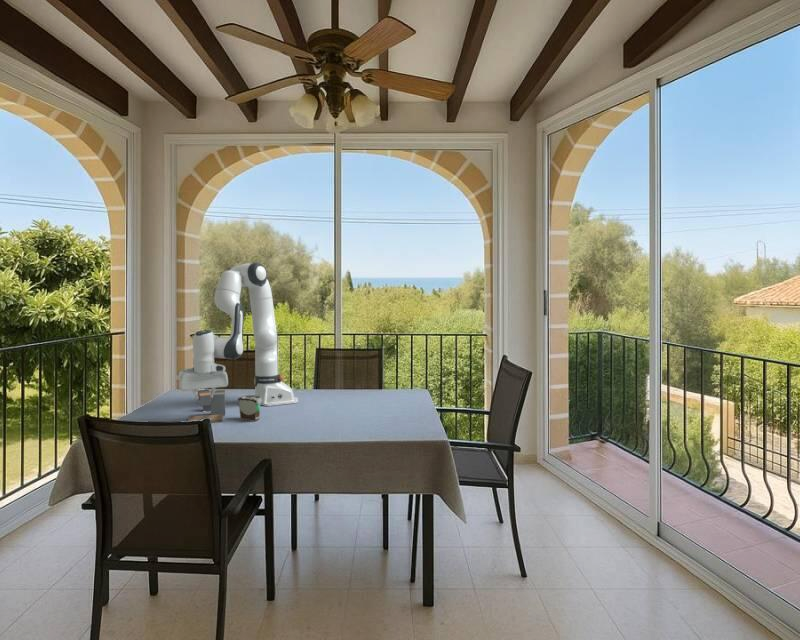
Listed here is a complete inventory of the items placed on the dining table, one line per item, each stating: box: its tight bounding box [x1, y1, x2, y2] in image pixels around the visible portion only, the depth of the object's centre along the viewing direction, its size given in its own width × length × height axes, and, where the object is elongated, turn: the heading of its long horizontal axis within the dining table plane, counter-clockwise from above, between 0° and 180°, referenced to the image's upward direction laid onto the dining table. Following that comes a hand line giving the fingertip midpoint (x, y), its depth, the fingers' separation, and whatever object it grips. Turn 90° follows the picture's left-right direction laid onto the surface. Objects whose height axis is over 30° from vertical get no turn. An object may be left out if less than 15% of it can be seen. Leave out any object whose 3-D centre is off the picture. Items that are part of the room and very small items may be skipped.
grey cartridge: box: [202, 405, 211, 412], centre depth 255 cm, size 4×4×6 cm
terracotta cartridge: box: [197, 389, 211, 407], centre depth 235 cm, size 4×4×6 cm
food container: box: [237, 394, 262, 422], centre depth 239 cm, size 12×6×10 cm, turn 59°
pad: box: [187, 414, 224, 424], centre depth 236 cm, size 14×10×1 cm
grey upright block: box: [210, 389, 226, 417], centre depth 246 cm, size 6×6×11 cm
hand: (204, 398), depth 235 cm, fingers closed on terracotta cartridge, 4 cm apart
